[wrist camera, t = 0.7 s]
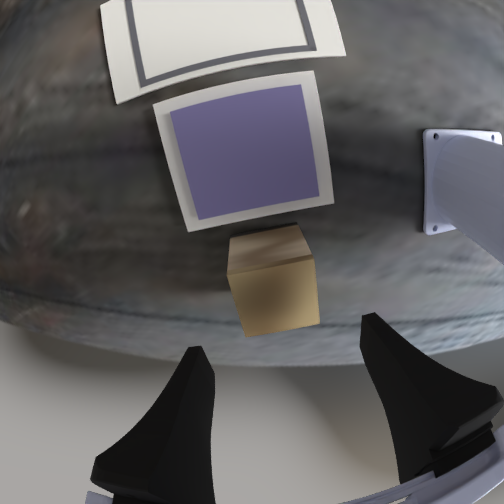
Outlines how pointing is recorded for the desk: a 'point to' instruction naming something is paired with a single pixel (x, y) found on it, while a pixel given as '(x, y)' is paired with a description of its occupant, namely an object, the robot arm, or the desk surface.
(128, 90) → the print card
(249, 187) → the ink pad
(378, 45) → the desk surface
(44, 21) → the desk surface
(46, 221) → the desk surface
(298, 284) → the stamp
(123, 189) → the desk surface
